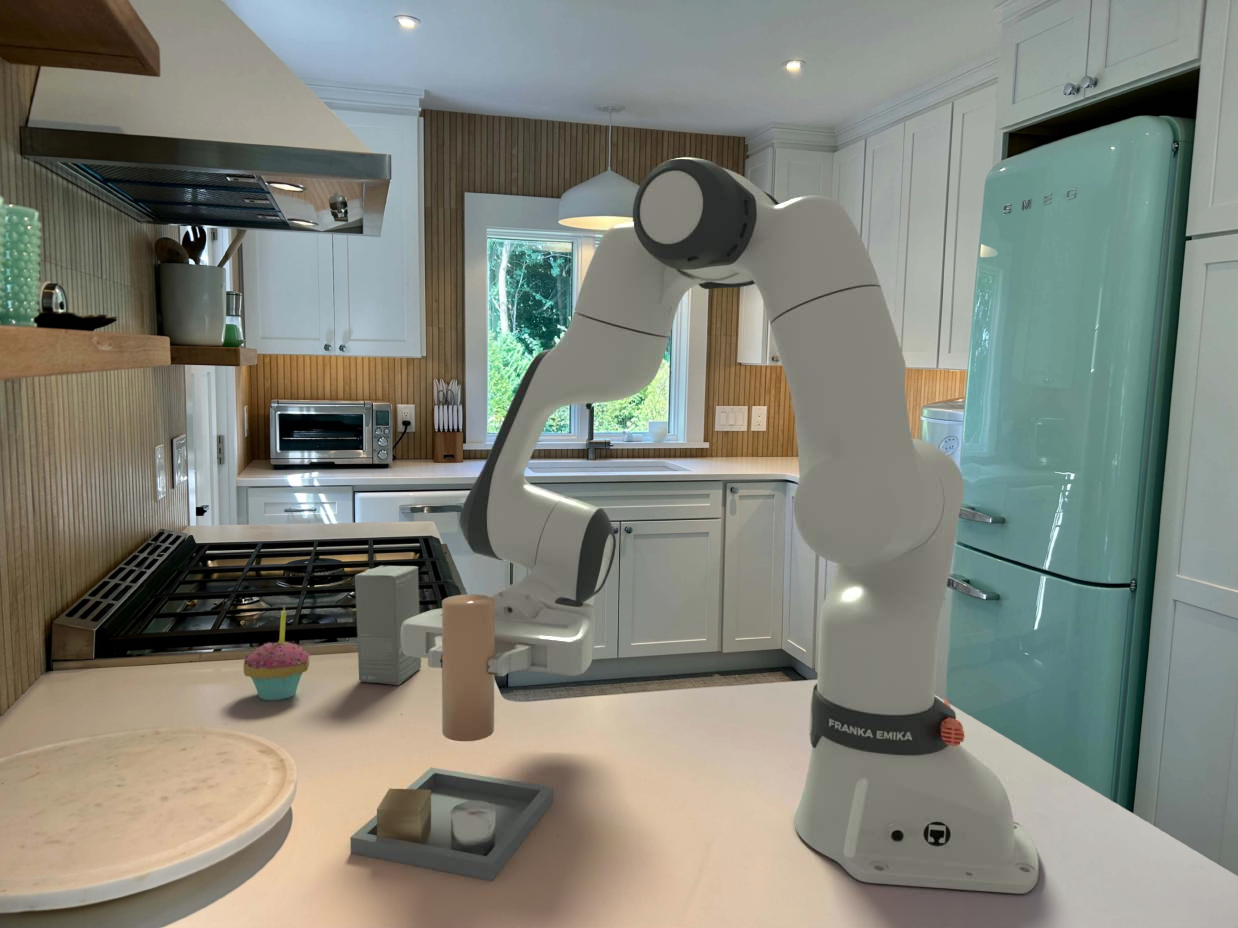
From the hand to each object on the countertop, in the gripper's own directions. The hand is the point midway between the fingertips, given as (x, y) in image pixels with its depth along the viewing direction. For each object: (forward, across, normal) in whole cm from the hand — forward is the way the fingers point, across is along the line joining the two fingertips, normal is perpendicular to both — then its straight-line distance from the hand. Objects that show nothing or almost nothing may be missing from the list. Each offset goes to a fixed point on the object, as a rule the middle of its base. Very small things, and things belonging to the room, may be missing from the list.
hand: (464, 663), depth 85 cm
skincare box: (-36, -30, +17) cm, 50 cm away
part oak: (+5, -4, +16) cm, 17 cm away
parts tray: (+1, 0, +17) cm, 17 cm away
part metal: (+5, +3, +16) cm, 17 cm away
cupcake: (-24, -40, +17) cm, 50 cm away
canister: (-1, 0, +7) cm, 7 cm away
